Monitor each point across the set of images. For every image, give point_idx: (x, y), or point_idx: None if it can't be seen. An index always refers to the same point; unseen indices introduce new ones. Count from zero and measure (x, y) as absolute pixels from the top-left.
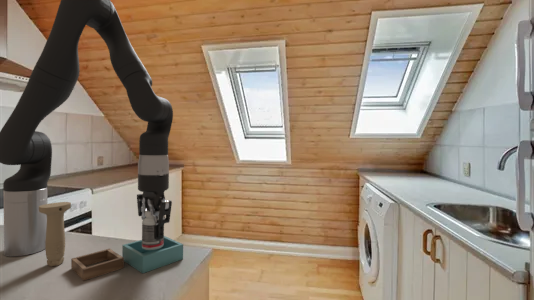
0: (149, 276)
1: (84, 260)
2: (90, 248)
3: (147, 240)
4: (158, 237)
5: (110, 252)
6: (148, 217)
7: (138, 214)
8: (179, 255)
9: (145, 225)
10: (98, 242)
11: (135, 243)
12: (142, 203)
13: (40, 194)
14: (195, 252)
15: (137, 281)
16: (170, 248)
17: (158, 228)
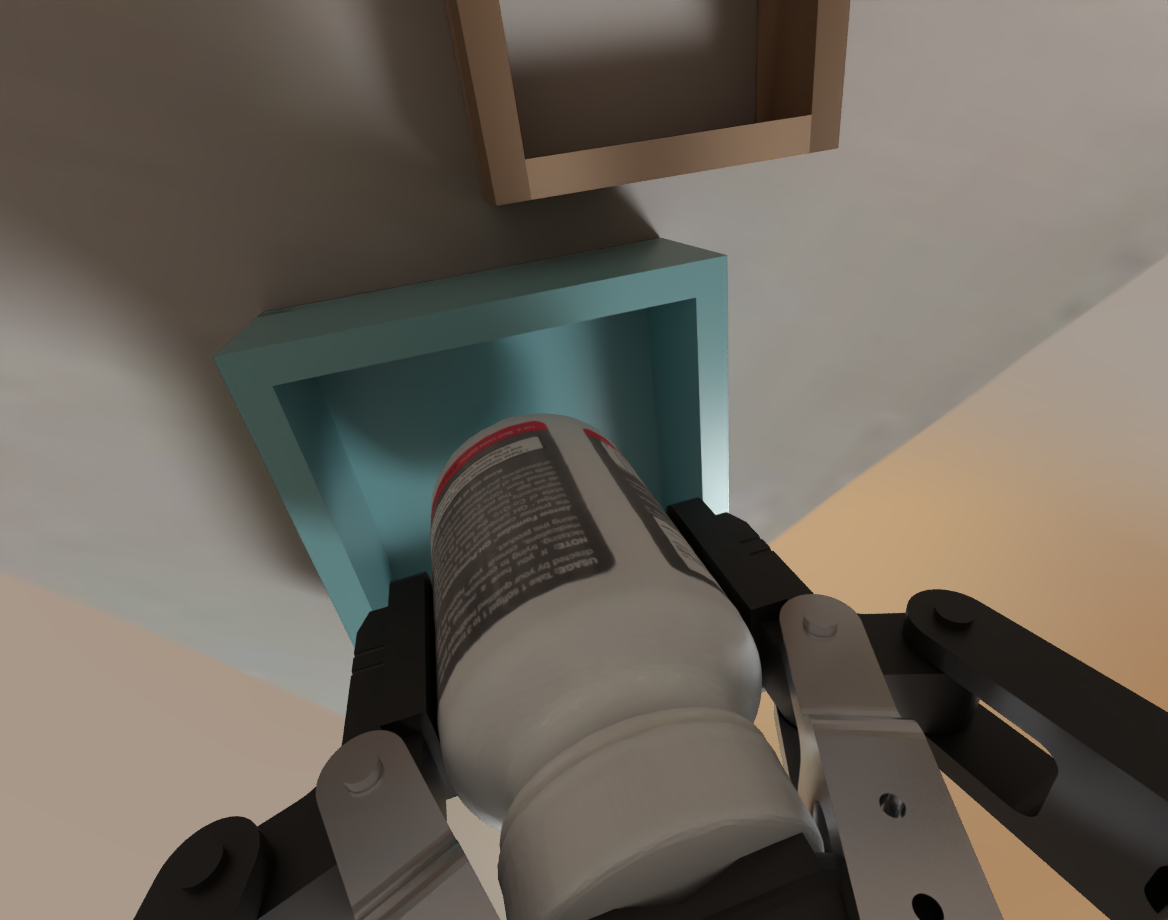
0: (168, 346)
1: None
2: (1089, 62)
3: (465, 493)
4: (367, 617)
5: (738, 127)
6: (575, 746)
7: (955, 602)
8: None
9: (524, 599)
10: (1138, 164)
11: (695, 383)
12: (1138, 838)
13: None
14: None
15: (93, 226)
16: (342, 620)
17: (355, 716)
